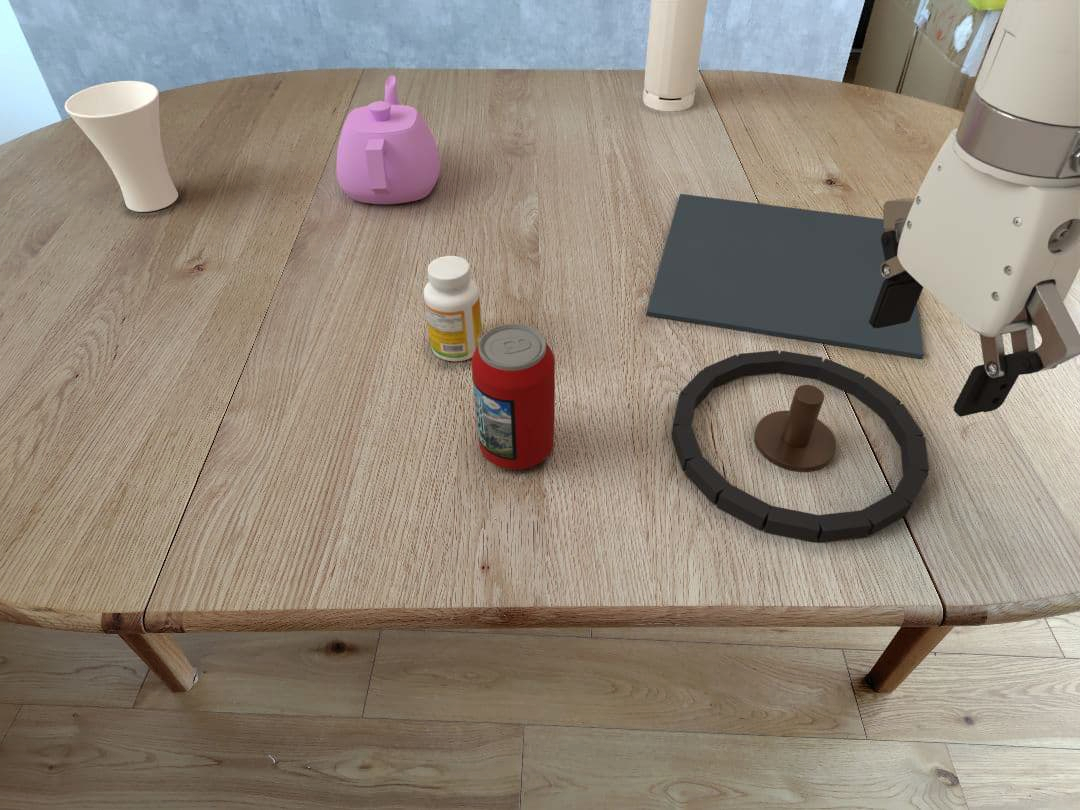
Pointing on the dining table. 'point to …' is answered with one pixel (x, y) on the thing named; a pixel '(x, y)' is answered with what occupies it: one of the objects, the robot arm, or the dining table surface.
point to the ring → (786, 519)
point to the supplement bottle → (452, 309)
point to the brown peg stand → (797, 434)
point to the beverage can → (514, 396)
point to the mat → (778, 274)
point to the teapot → (387, 152)
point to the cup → (127, 139)
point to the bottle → (673, 53)
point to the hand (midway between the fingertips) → (928, 363)
